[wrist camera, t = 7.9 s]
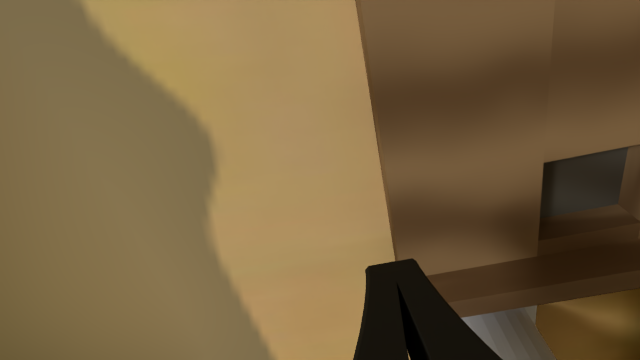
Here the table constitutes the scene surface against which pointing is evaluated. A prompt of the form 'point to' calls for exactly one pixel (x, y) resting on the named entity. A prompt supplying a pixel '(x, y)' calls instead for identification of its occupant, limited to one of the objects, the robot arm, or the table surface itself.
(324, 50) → the table surface
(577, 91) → the trap board
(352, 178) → the table surface
